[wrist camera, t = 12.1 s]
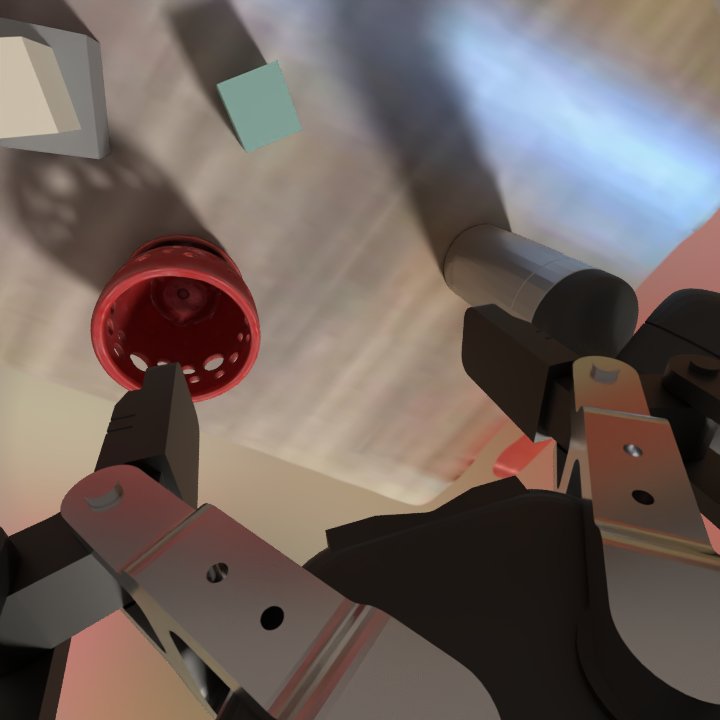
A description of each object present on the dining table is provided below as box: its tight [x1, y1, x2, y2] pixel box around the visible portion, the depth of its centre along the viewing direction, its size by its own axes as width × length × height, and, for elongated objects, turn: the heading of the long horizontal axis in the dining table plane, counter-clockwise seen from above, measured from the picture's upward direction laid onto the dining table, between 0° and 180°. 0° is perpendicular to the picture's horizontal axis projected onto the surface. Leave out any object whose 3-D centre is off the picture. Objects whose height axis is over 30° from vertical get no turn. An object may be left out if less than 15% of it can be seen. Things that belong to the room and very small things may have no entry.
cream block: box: [0, 36, 81, 138], centre depth 29 cm, size 5×5×6 cm
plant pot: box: [91, 235, 261, 403], centre depth 41 cm, size 13×13×12 cm
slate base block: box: [0, 17, 111, 159], centre depth 33 cm, size 8×8×5 cm
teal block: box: [216, 60, 302, 153], centre depth 37 cm, size 5×5×6 cm
